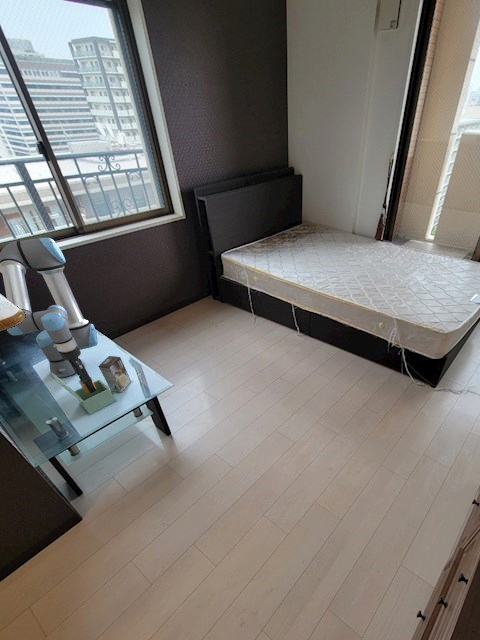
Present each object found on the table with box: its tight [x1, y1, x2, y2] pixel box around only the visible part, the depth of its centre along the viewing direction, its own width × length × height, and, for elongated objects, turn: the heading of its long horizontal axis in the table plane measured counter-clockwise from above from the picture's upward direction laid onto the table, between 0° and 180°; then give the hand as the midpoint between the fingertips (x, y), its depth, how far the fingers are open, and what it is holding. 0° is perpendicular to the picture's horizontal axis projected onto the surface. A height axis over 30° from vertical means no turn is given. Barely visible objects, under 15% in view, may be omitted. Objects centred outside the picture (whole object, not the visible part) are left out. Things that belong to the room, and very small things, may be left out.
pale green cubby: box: [73, 379, 116, 415], centre depth 166 cm, size 13×11×8 cm
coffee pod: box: [78, 376, 96, 393], centre depth 160 cm, size 6×6×6 cm
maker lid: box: [50, 372, 83, 402], centre depth 154 cm, size 13×11×1 cm
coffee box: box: [97, 355, 132, 393], centre depth 172 cm, size 9×6×16 cm
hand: (90, 388), depth 162 cm, fingers closed on coffee pod, 6 cm apart
